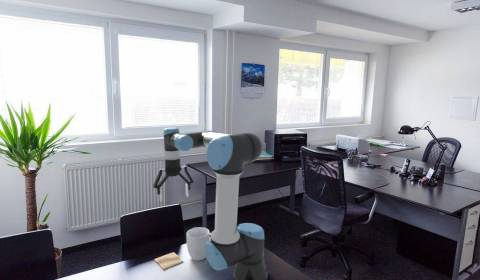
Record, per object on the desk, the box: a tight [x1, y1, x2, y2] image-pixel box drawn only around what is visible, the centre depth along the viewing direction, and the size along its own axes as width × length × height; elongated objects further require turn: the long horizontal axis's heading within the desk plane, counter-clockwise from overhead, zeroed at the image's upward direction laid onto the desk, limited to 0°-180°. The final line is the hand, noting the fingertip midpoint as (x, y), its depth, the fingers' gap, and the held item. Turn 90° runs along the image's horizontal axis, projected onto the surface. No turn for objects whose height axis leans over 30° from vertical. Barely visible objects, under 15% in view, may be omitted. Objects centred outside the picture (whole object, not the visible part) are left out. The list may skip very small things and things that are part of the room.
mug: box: [186, 226, 212, 262], centre depth 147 cm, size 15×11×13 cm
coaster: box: [154, 251, 184, 271], centre depth 143 cm, size 10×10×1 cm
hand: (174, 198), depth 155 cm, fingers open, 13 cm apart
